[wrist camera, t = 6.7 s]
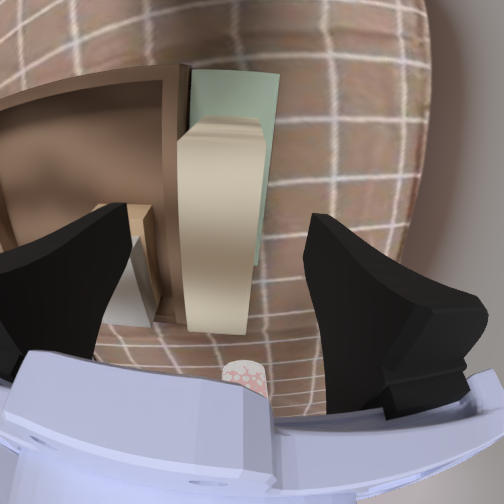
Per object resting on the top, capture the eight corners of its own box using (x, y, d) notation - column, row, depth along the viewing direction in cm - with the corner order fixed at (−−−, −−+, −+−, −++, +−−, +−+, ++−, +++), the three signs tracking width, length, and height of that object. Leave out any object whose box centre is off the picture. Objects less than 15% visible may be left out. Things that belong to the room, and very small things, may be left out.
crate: (191, 299, 23) (187, 324, 21) (32, 280, 22) (19, 299, 20) (190, 65, 13) (179, 63, 11) (-10, 104, 12) (-33, 113, 10)
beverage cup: (206, 361, 29) (196, 489, 17) (262, 351, 27) (268, 488, 16) (228, 387, 32) (225, 496, 20) (278, 378, 31) (286, 493, 19)
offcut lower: (162, 292, 22) (156, 310, 20) (116, 287, 22) (108, 304, 20) (152, 204, 18) (142, 219, 16) (98, 203, 17) (85, 217, 16)
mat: (257, 261, 21) (257, 266, 21) (192, 257, 21) (191, 261, 20) (278, 74, 14) (279, 74, 13) (193, 69, 14) (192, 69, 13)
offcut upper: (157, 306, 20) (151, 327, 18) (111, 303, 20) (103, 323, 18) (139, 236, 16) (129, 255, 15) (88, 236, 16) (74, 254, 15)
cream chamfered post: (245, 256, 20) (245, 335, 14) (203, 253, 20) (187, 331, 14) (258, 117, 15) (266, 145, 9) (205, 114, 15) (177, 141, 9)
